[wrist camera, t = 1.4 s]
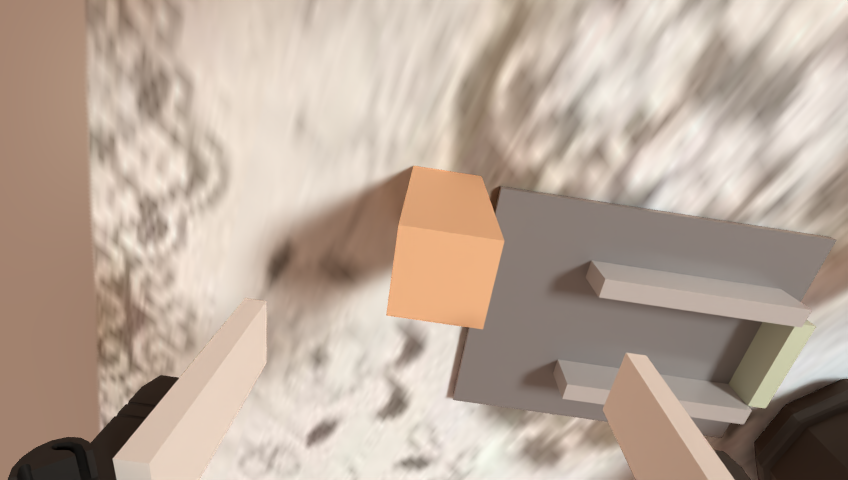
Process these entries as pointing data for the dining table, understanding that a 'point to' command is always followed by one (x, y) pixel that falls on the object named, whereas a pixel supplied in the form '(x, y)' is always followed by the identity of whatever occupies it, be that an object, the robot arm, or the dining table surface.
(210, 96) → the dining table surface
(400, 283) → the block
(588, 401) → the end holder
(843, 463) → the wooden barrel
